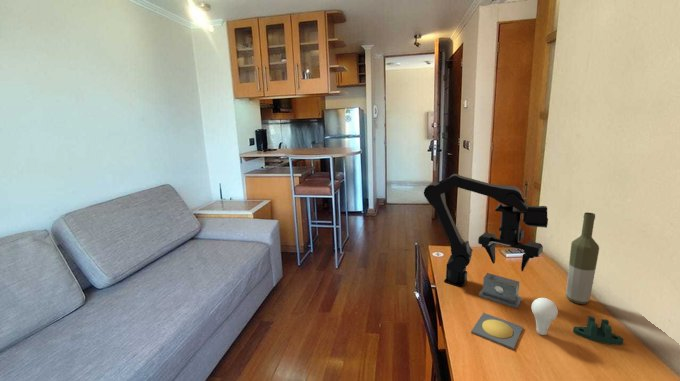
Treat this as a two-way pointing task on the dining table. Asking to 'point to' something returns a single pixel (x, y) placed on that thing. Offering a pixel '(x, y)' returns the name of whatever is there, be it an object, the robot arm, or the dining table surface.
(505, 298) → the lamp housing
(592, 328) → the mount
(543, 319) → the lightbulb
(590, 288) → the bottle
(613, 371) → the dining table surface
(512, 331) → the parts mat
